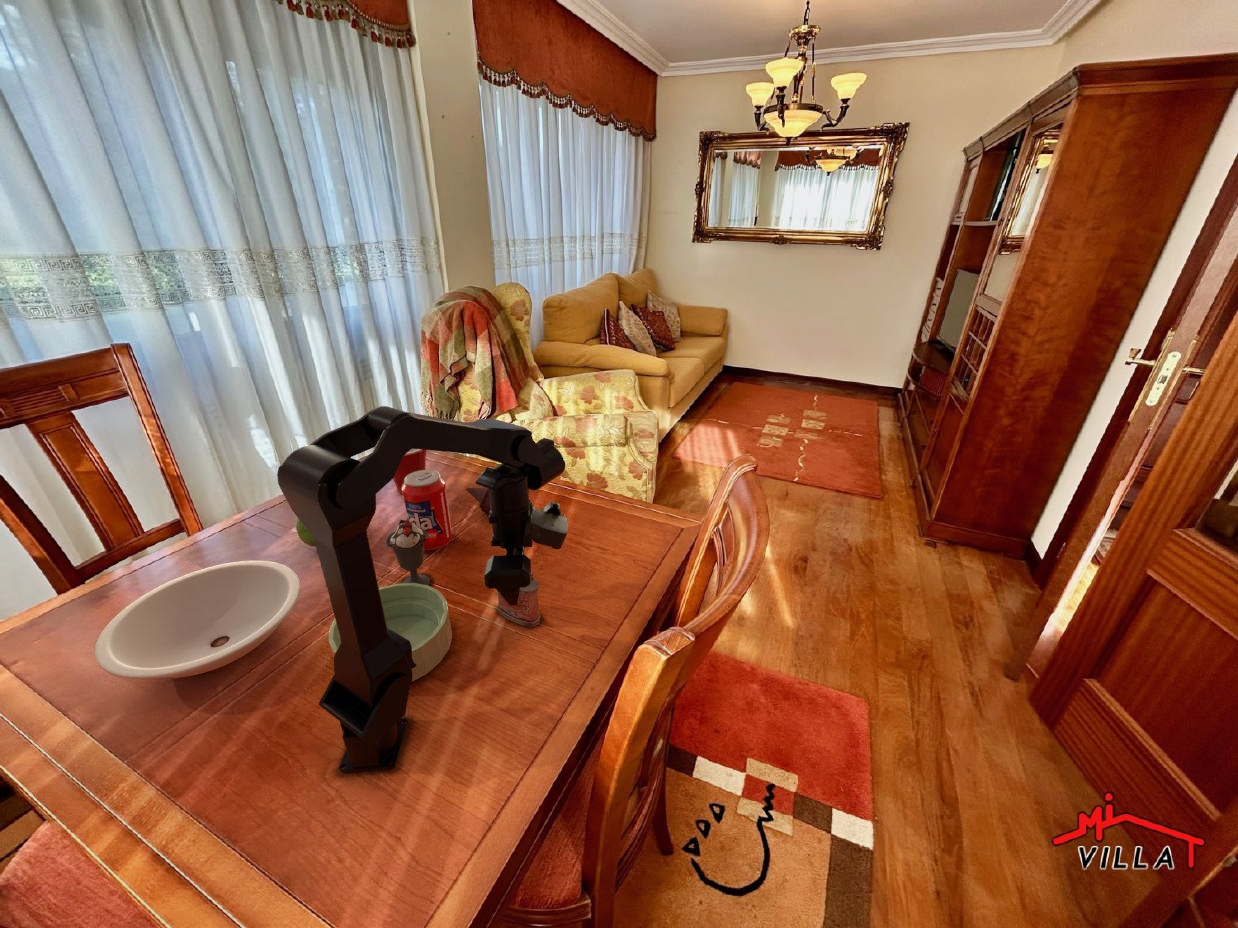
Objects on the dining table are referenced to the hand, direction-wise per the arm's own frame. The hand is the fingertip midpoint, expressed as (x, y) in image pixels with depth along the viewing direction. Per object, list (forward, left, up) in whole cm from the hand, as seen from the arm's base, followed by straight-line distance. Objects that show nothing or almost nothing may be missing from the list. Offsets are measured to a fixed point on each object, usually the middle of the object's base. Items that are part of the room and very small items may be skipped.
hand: (516, 585), depth 81 cm
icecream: (+33, +8, -7) cm, 35 cm away
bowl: (-6, +18, -6) cm, 20 cm away
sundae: (+9, +19, -7) cm, 22 cm away
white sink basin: (-3, +45, -7) cm, 45 cm away
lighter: (0, 0, -7) cm, 7 cm away
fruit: (+25, +38, -7) cm, 46 cm away
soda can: (+22, +19, -7) cm, 30 cm away
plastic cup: (+44, +29, -7) cm, 53 cm away
